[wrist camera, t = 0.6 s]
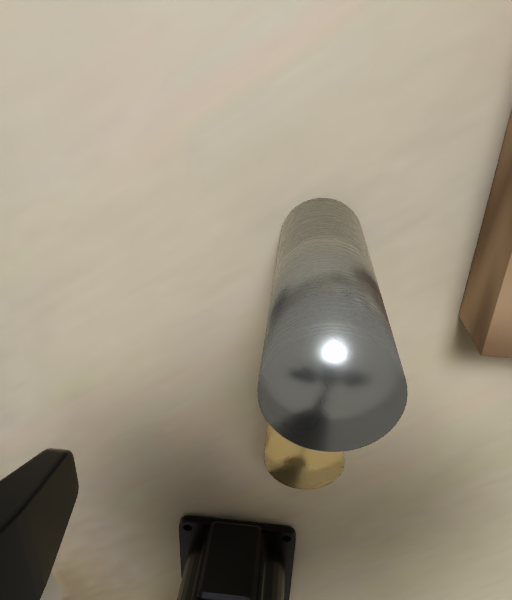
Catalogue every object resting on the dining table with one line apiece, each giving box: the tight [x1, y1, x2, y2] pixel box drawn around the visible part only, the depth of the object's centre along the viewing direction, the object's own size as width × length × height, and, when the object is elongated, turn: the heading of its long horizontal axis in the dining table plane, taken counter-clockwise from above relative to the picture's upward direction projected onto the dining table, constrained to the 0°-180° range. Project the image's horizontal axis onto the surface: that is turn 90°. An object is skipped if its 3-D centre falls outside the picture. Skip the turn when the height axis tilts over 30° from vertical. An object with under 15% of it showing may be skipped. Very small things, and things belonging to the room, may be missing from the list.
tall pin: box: [258, 198, 407, 452], centre depth 15 cm, size 3×3×10 cm
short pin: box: [264, 423, 344, 489], centre depth 21 cm, size 3×3×4 cm
